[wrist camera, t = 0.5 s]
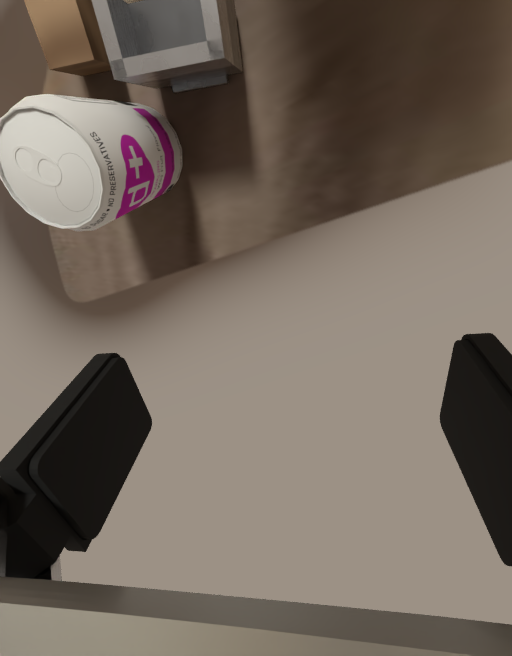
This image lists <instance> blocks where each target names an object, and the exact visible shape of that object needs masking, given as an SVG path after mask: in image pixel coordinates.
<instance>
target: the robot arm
mask: <svg viewBox="0 0 512 656" xmlns="http://www.w3.org/2000/svg"><path fill="white" fill-rule="evenodd" d="M440 423H441V427H442V429H443V431H444V433H445V436H446V438H447V440H448V443H449V445H450V447H451V449H452V451H453V454H454V456H455V458H456V460H457V462H458V464H459V467H460V469H461V471H462V474H463V476H464V478H465V480H466V483H467V485H468V487H469V489H470V492H471V494H472V496H473V498H474V500H475V503H476V505H477V507H478V509H479V511H480V514H481V516H482V518H483V520H484V523H485V525H486V527H487V529H488V532H489V534H490V536H491V538H492V540H493V543H494V545H495V547H496V549H497V551H498V554H499V556H500V558H501V559H502V561H503V562H504V564H506V565H507V566H512V355H511V354H510V352H509V351H508V350H507V349H506V348H505V347H504V346H503V345H502V343H501V342H500V341H499V340H498V339H497V338H496V337H495V336H494V335H493V334H491V333H482V334H466V335H464V336H463V337H462V340H457V341H456V342H455V343H454V347H453V353H452V357H451V362H450V367H449V372H448V377H447V382H446V387H445V392H444V397H443V402H442V407H441V412H440ZM151 426H152V419H151V416H150V414H149V412H148V409H147V407H146V405H145V403H144V401H143V398H142V396H141V394H140V392H139V389H138V387H137V385H136V383H135V381H134V378H133V376H132V374H131V372H130V370H129V367H128V365H127V363H126V361H125V360H124V358H121V357H120V356H119V355H118V354H117V353H106V354H97V355H95V356H94V357H93V359H92V360H91V361H90V362H89V363H88V364H87V365H86V366H85V367H84V368H83V370H82V371H81V372H80V373H79V374H78V375H77V376H76V377H75V378H74V380H73V381H72V382H71V383H70V384H69V385H68V386H67V387H66V389H65V390H64V391H63V392H62V393H61V394H60V395H59V396H58V398H57V399H56V400H55V401H54V402H53V403H52V404H51V406H50V407H49V408H48V409H47V410H46V411H45V412H44V413H43V415H42V416H41V417H40V418H39V419H38V420H37V421H36V422H35V423H34V425H33V426H32V427H31V428H30V429H29V430H28V431H27V433H26V434H25V435H24V436H23V437H22V438H21V439H20V440H19V441H18V443H17V444H16V445H15V446H14V447H13V448H12V449H11V451H10V452H9V453H8V454H7V455H6V456H5V457H4V458H3V459H2V461H1V462H0V656H512V625H509V624H500V623H492V622H484V621H475V620H466V619H458V618H448V617H441V616H430V615H420V614H410V613H399V612H389V611H379V610H369V609H359V608H358V609H357V608H348V607H337V606H328V605H318V604H308V603H298V602H287V601H276V600H266V599H254V598H244V597H233V596H222V595H212V594H200V593H190V592H179V591H168V590H157V589H146V588H135V587H124V586H112V585H101V584H89V583H78V582H66V581H62V577H61V566H60V554H61V552H62V550H63V548H64V547H65V548H66V549H67V550H69V551H83V552H86V550H87V548H88V546H89V544H90V542H91V540H92V539H94V538H95V537H96V536H97V535H98V534H99V532H100V531H101V529H102V526H103V524H104V523H105V521H106V518H107V516H108V514H109V512H110V510H111V508H112V506H113V504H114V502H115V500H116V498H117V496H118V494H119V492H120V490H121V488H122V486H123V484H124V482H125V480H126V478H127V476H128V474H129V472H130V470H131V468H132V466H133V464H134V462H135V460H136V458H137V456H138V454H139V452H140V450H141V448H142V446H143V444H144V442H145V440H146V438H147V436H148V434H149V432H150V430H151Z"/></svg>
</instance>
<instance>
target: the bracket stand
mask: <svg viewBox="0 0 512 656" xmlns="http://www.w3.org/2000/svg"><path fill="white" fill-rule="evenodd" d="M92 4H93V7H94V11H95V14H96V18H97V21H98V25H99V28H100V32H101V35H102V39H103V42H104V45H105V49H106V52H107V56H108V59H109V63H110V66H111V70H112V73H113V77H114V80H119V81H123V82H128V83H132V84H137V85H142V86H146V87H151V88H156V89H157V88H162V87H167V86H172V89H173V93H180V92H185V91H190V90H196V89H201V88H207V87H212V86H218V85H223V84H229V82H228V75H231V74H236V73H242V72H243V69H242V61H241V53H240V45H239V36H238V28H237V20H236V12H235V4H234V0H143V1H139V2H135V3H131V4H128V3H126V2H125V1H123V0H92Z"/></svg>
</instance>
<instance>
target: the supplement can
mask: <svg viewBox="0 0 512 656" xmlns="http://www.w3.org/2000/svg"><path fill="white" fill-rule="evenodd" d="M182 166H183V164H182V148H181V145H180V142H179V139H178V136H177V133H176V132H175V130H174V129H173V127H172V126H171V125H170V123H169V122H168V120H167V119H166V118H165V117H164V116H162V115H161V114H160V113H159V112H157V111H156V110H155V109H153V108H151V107H148V106H145V105H142V104H138V103H130V102H120V101H111V100H101V99H91V98H82V97H72V96H62V95H52V94H43V95H35V96H27V97H25V98H24V99H22V100H21V101H20V102H18V103H17V104H16V105H15V106H13V107H12V108H11V109H10V110H9V112H8V113H6V114H5V115H4V116H3V117H1V118H0V178H1V180H2V182H3V183H4V185H5V186H6V188H7V190H8V191H9V193H10V195H11V196H12V197H13V198H14V199H15V201H16V202H17V203H18V204H19V205H20V206H21V207H22V208H23V209H24V210H25V211H26V212H27V213H29V214H30V215H32V216H33V217H35V218H37V219H38V220H40V221H41V222H43V223H45V224H48V225H51V226H55V227H58V228H67V229H71V230H74V231H90V230H96V229H98V228H100V227H102V226H103V225H105V224H107V223H109V222H111V221H113V220H115V219H117V218H119V217H121V216H122V215H124V214H126V213H128V212H130V211H132V210H134V209H136V208H138V207H140V206H142V205H143V204H145V203H147V202H149V201H151V200H153V199H155V198H157V197H159V196H161V195H162V194H164V193H166V192H168V191H170V190H171V189H172V187H173V186H174V185H175V184H176V182H177V181H178V180H179V176H180V173H181V170H182Z"/></svg>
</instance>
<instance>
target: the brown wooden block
mask: <svg viewBox="0 0 512 656" xmlns="http://www.w3.org/2000/svg"><path fill="white" fill-rule="evenodd" d="M24 1H25V4H26V7H27V9H28V12H29V15H30V17H31V20H32V23H33V25H34V28H35V31H36V34H37V36H38V39H39V42H40V44H41V47H42V50H43V52H44V55H45V58H46V61H47V63H48V66H49V69H50V70H55V71H60V72H65V73H70V74H75V75H80V76H87V75H92V74H96V73H101V72H106V71H110V70H111V66H110V63H109V59H108V56H107V52H106V49H105V45H104V42H103V39H102V35H101V32H100V28H99V25H98V21H97V18H96V14H95V11H94V7H93V4H92V0H24Z"/></svg>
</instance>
